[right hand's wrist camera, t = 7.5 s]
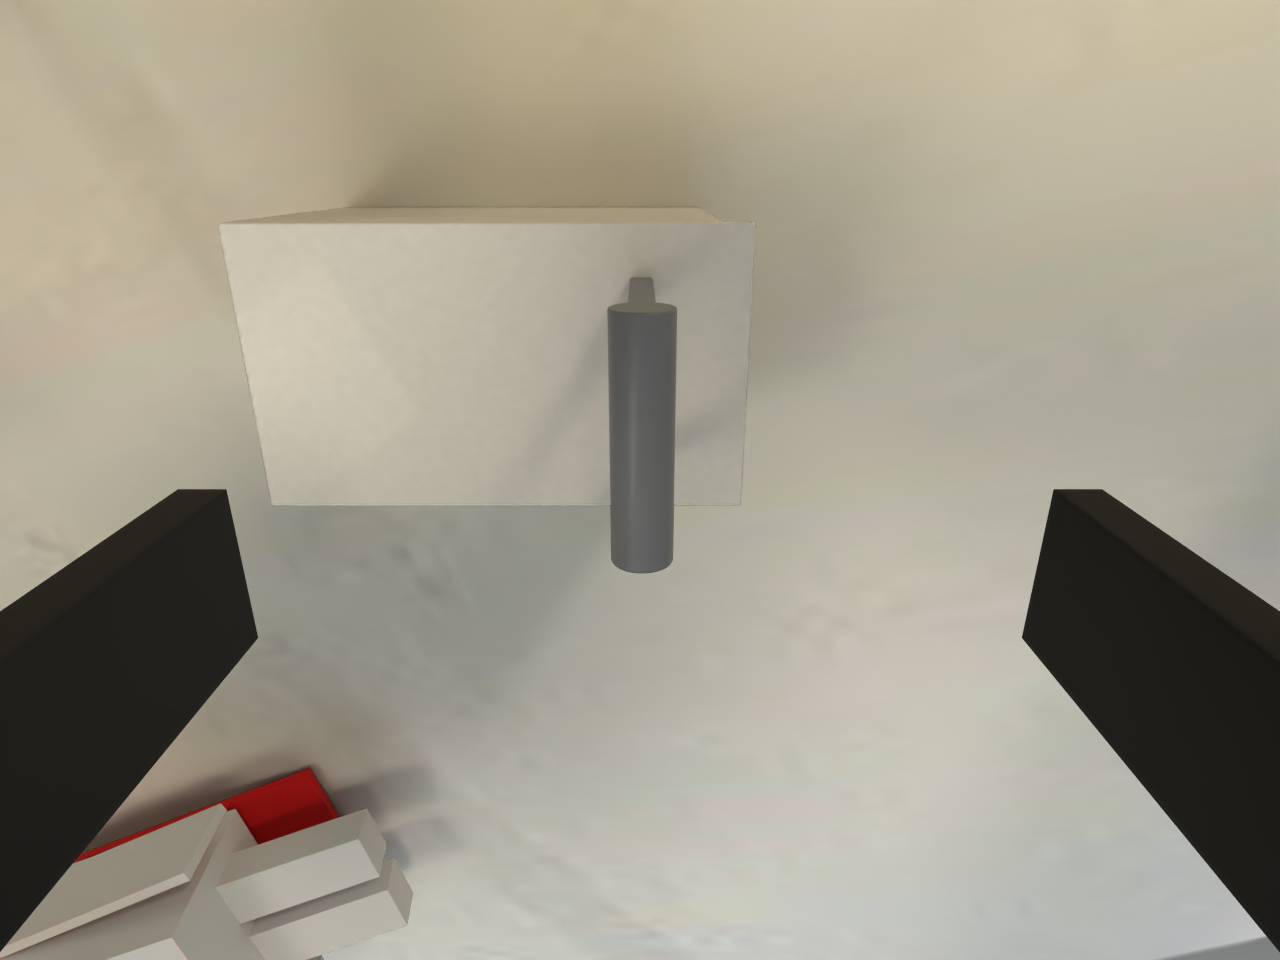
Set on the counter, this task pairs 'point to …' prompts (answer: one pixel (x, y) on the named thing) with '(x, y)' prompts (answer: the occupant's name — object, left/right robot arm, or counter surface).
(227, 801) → the toy
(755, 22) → the counter surface
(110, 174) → the counter surface
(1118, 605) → the right robot arm
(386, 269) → the lid
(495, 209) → the chest
